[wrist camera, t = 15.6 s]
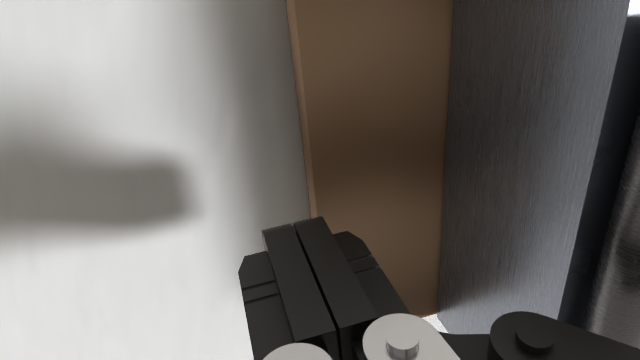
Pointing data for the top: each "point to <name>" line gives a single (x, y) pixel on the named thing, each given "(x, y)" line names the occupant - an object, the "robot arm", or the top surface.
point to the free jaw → (543, 166)
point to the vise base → (377, 128)
